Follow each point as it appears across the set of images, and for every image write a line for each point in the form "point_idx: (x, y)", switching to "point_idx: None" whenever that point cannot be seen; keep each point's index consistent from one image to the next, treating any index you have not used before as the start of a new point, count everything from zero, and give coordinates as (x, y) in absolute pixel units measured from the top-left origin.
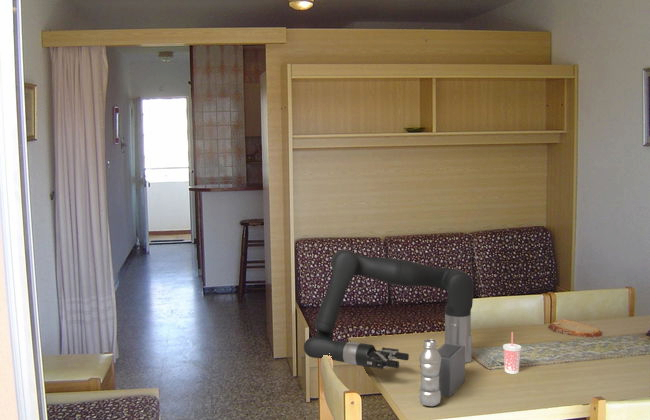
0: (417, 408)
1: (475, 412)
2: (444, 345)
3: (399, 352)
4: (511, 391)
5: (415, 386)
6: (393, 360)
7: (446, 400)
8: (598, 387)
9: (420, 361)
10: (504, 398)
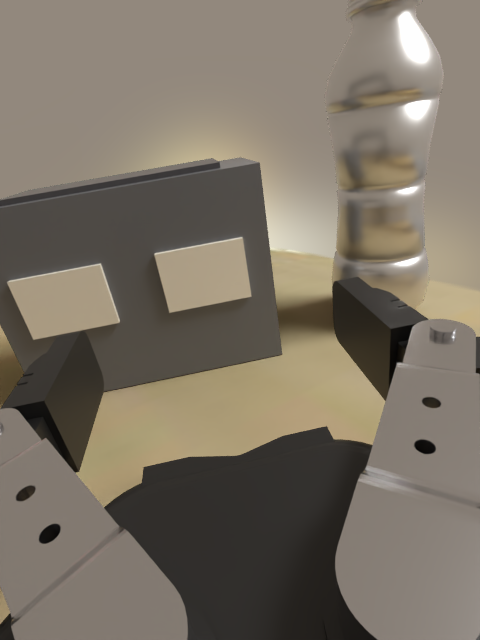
0: (451, 312)
1: (313, 259)
2: (20, 196)
3: (26, 393)
4: None
5: (235, 429)
6: (359, 299)
7: (295, 306)
8: None
9: (440, 89)
10: None
